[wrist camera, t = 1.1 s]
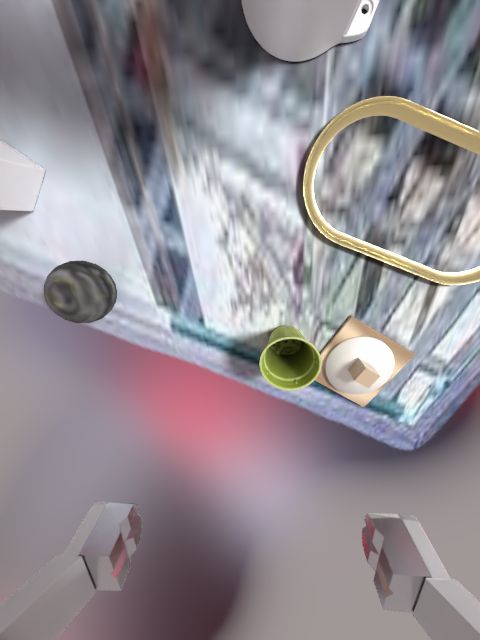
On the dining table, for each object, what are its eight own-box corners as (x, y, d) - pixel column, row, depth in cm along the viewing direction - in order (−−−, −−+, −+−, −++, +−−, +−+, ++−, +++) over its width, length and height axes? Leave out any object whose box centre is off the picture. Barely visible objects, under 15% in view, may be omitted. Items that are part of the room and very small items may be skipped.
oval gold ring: (477, 299, 42) (484, 302, 40) (281, 222, 40) (282, 222, 38) (569, 178, 35) (582, 176, 34) (339, 77, 33) (342, 70, 31)
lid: (352, 323, 44) (362, 334, 40) (407, 356, 45) (421, 369, 41) (312, 373, 48) (316, 387, 44) (362, 401, 50) (371, 417, 46)
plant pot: (267, 367, 49) (269, 396, 41) (253, 324, 46) (251, 346, 38) (315, 355, 47) (327, 383, 39) (304, 310, 44) (313, 330, 36)
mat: (350, 315, 44) (351, 316, 43) (413, 352, 46) (415, 354, 45) (304, 373, 49) (304, 375, 48) (362, 405, 51) (363, 407, 50)
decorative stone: (91, 244, 43) (44, 250, 34) (138, 284, 45) (107, 301, 36) (63, 285, 46) (14, 301, 37) (109, 321, 48) (72, 345, 39)
